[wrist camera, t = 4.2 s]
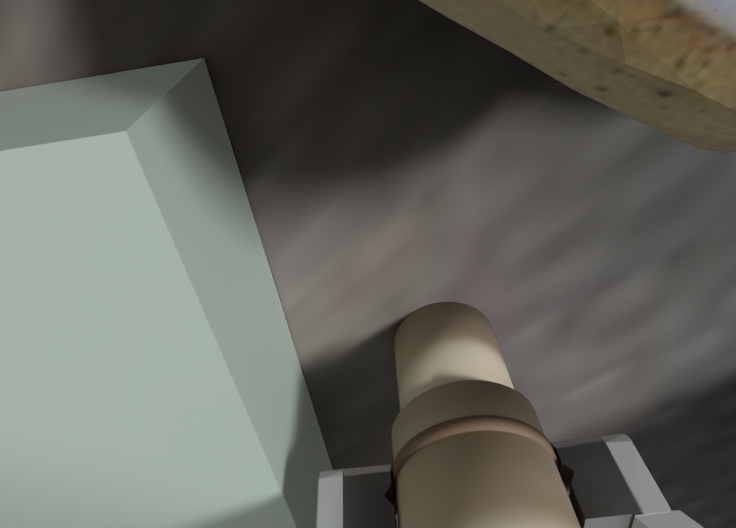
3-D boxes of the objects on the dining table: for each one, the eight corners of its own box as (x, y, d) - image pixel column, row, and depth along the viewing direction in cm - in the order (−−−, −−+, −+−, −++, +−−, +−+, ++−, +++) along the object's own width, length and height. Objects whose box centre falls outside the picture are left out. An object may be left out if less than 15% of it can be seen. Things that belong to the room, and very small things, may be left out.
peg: (373, 301, 13) (403, 824, 5) (503, 283, 12) (737, 802, 5) (390, 392, 14) (431, 881, 7) (505, 377, 14) (677, 866, 7)
